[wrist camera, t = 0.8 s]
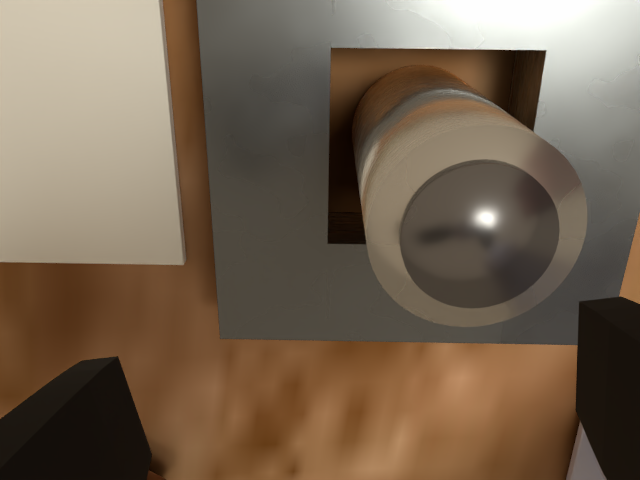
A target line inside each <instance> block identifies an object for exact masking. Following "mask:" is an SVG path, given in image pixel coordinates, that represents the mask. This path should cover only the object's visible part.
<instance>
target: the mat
mask: <svg viewBox="0 0 640 480" xmlns="http://www.w3.org/2000/svg"><path fill="white" fill-rule="evenodd" d="M0 262H27V263H89V264H151V265H184V263H185V262H186V250H185V239H184V228H183V217H182V206H181V195H180V185H179V174H178V163H177V152H176V141H175V130H174V119H173V108H172V97H171V86H170V76H169V65H168V54H167V43H166V32H165V21H164V10H163V0H0Z"/></svg>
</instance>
